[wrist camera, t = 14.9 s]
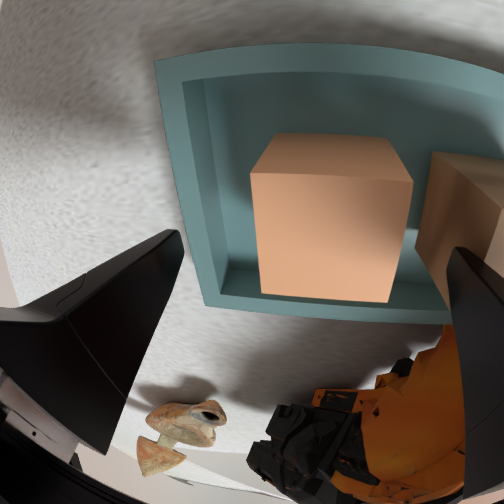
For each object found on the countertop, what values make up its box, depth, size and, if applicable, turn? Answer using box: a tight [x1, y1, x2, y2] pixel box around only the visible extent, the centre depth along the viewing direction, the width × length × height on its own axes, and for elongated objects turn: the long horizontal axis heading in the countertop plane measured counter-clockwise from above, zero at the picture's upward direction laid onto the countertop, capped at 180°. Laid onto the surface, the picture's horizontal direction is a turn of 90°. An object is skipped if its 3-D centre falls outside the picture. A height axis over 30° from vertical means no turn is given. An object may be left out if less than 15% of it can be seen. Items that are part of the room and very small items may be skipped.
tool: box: [246, 324, 466, 504], centre depth 18 cm, size 8×23×15 cm, turn 148°
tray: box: [154, 43, 504, 325], centre depth 11 cm, size 18×12×2 cm, turn 95°
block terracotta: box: [250, 133, 414, 303], centre depth 11 cm, size 4×4×4 cm
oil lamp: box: [137, 400, 227, 477], centre depth 30 cm, size 9×21×10 cm, turn 150°
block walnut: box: [414, 151, 504, 313], centre depth 9 cm, size 4×4×4 cm
